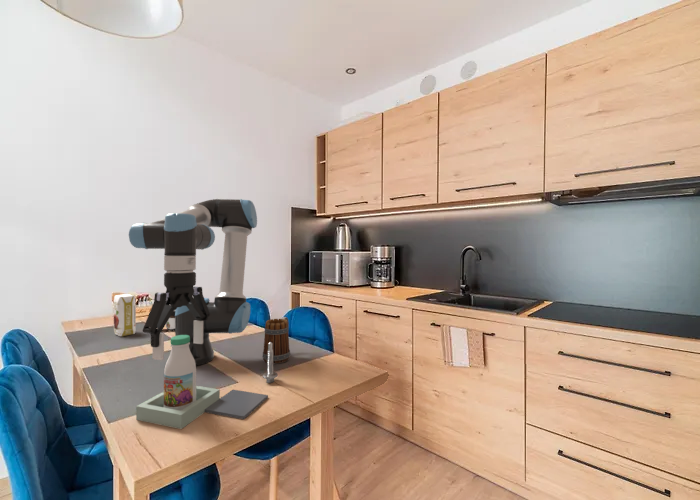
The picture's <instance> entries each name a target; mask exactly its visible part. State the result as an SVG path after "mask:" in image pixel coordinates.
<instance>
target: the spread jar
mask: <svg viewBox="0 0 700 500" xmlns="http://www.w3.org/2000/svg"><path fill="white" fill-rule="evenodd" d="M165 328H166V330H167V331H168V332H175V310H174V311H173V313H172V314H171V316H170V318H169V320H168V321H167V323H166V325H165Z"/></svg>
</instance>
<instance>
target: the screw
mask: <svg viewBox="0 0 700 500" xmlns="http://www.w3.org/2000/svg"><path fill="white" fill-rule="evenodd" d="M267 359H268V360H267V361H268V363H267V371H266V372H264V373H263V374H262V378H263V379H265V381H266V383H267V384H271V383H274V382H275V378H277V377H279V376H278V375H279V374H278V372H276V371H274V364H273V349H272V343H271V342H270V343H269V344H268V358H267Z"/></svg>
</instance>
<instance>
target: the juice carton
mask: <svg viewBox="0 0 700 500" xmlns="http://www.w3.org/2000/svg"><path fill="white" fill-rule="evenodd" d="M113 298H114V299H113V332H114V335H116V336H118V337H125V336H130V335H135V333H136V330H137V329H136V328H137V324H136V317H137V314H136V312H137V310H136V306H137V305H136V303H137V301H136V297H135V294H132V295H131V294H129V293H126V294H125V293H124V294H117V295H114V297H113Z"/></svg>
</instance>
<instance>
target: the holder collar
mask: <svg viewBox="0 0 700 500" xmlns="http://www.w3.org/2000/svg"><path fill="white" fill-rule="evenodd" d="M220 391H221V390H220V389H219V388H213V387H205V386H202V385H201V386H200V385H196V401H195V402H194V403H192V404H191V405H189V406H188V407H186V408H185V409H183V410H182V411H180V410H174V409H169V408H164V391H162V392H160V393H158V394H157V395H154V396H153V397H151V398H149V399H147V400H146V401H143V402H142V403H140V404H138V405H136V406H135V408H136V409H135V410H136V411H135V412H136V417H135V419H136V420H137V421H141V422H145V423H151V424H155V425H159V426H166V427H169V428H175V429H180V430H182V429H183V428H185V427H186V426H187V425H189V424H190V423H192V422H193V421H195V420H196V419H197V418H199V417H200V416H202V415H203V414H205V413H206V412H205V409H206V408H207V407H209V406H210V405H211V404H213V403H214V402H216V401H217V400H219V399H220V398H221V396H220Z"/></svg>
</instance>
